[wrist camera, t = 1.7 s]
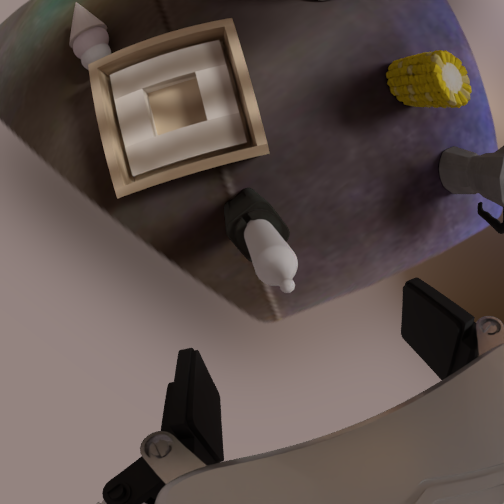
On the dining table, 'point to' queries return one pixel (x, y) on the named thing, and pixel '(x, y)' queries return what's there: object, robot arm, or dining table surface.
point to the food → (429, 80)
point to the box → (176, 106)
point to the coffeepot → (475, 177)
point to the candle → (261, 238)
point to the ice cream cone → (88, 36)
